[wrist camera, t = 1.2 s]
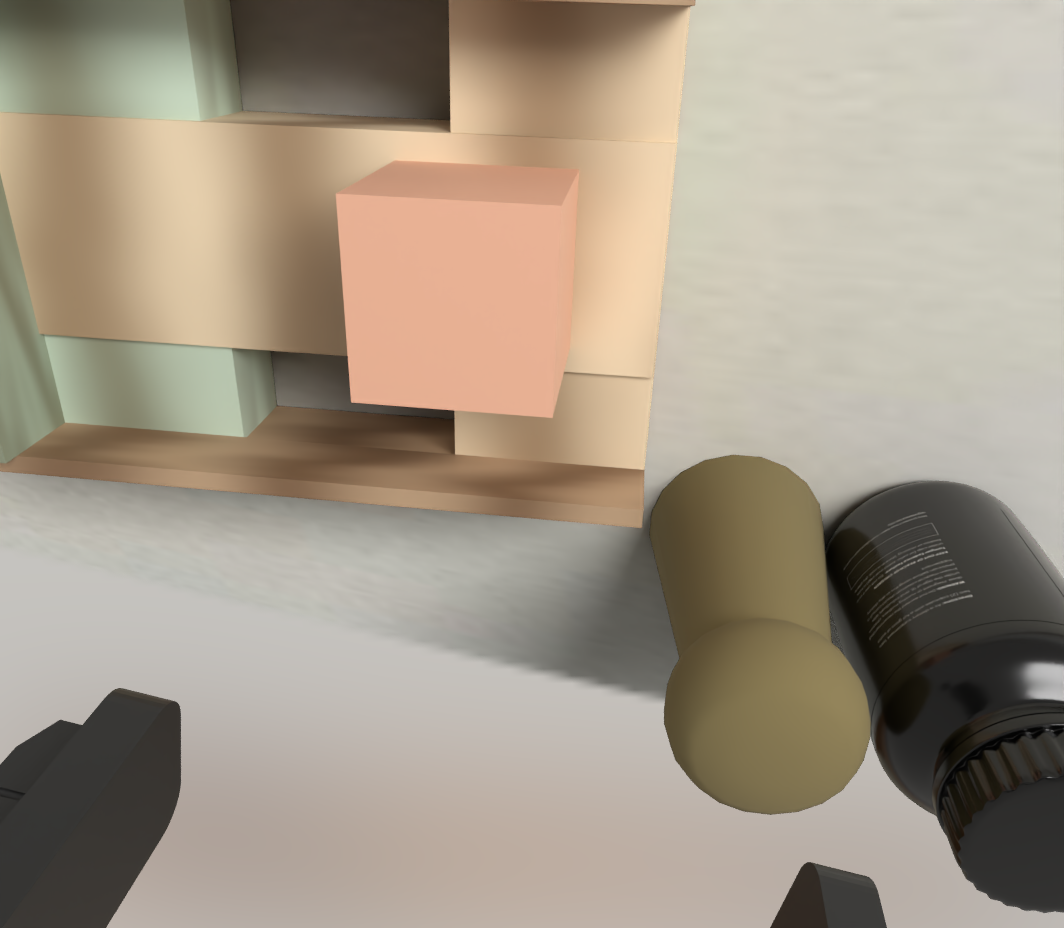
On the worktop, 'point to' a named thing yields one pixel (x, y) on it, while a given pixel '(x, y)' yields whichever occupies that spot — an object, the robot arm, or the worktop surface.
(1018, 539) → the supplement bottle
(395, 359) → the block
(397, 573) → the worktop surface
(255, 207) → the wooden organizer box
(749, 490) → the cork
